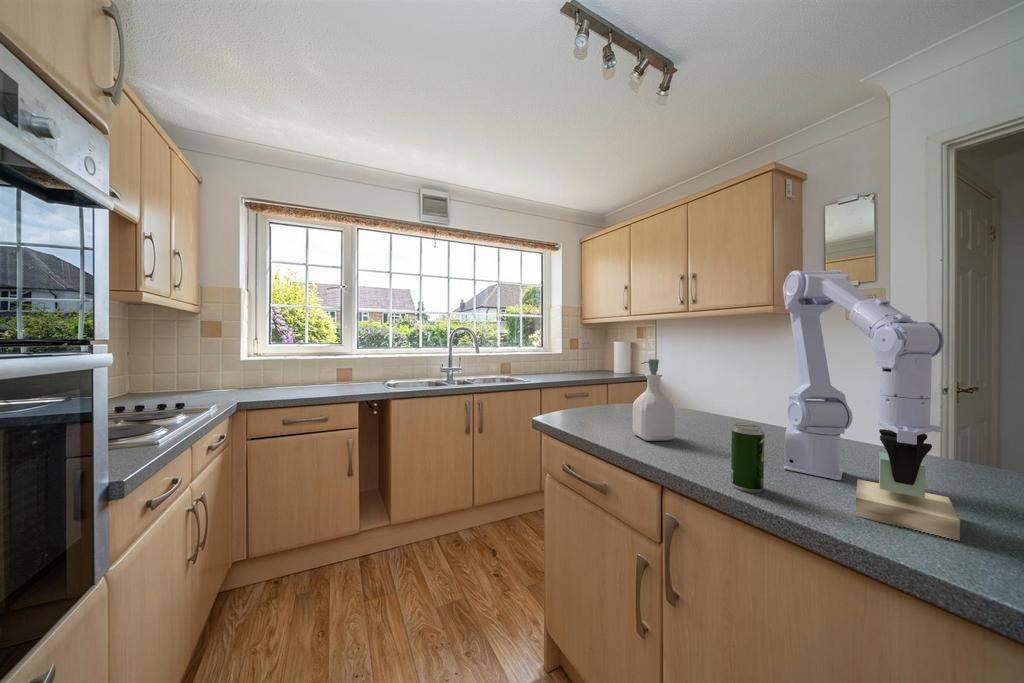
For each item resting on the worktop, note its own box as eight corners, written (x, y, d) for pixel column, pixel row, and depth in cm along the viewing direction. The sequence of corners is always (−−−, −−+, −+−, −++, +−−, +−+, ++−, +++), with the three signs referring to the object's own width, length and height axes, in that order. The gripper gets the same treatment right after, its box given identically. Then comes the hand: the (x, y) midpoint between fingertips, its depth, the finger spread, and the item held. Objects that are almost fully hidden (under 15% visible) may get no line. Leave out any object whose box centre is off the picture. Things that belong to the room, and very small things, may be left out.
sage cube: (879, 488, 61) (880, 458, 61) (879, 480, 65) (879, 452, 65) (924, 498, 58) (925, 466, 58) (921, 488, 61) (922, 458, 61)
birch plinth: (855, 515, 61) (855, 497, 61) (857, 495, 69) (857, 479, 69) (959, 541, 53) (960, 520, 53) (947, 515, 61) (948, 497, 61)
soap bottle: (629, 433, 112) (630, 357, 111) (660, 433, 113) (661, 357, 112) (644, 442, 102) (645, 360, 102) (677, 442, 103) (678, 360, 103)
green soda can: (734, 491, 70) (735, 428, 70) (727, 480, 76) (728, 422, 75) (767, 495, 69) (768, 430, 69) (758, 484, 74) (759, 424, 74)
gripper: (948, 405, 53) (946, 499, 53) (935, 394, 63) (933, 473, 64) (879, 399, 58) (877, 485, 58) (877, 389, 68) (876, 463, 69)
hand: (902, 478), depth 61 cm, fingers closed on sage cube, 5 cm apart
